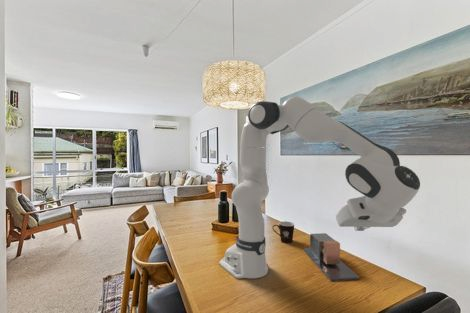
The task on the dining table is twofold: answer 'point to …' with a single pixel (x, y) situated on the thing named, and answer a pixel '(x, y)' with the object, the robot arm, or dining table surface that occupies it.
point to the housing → (330, 270)
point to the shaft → (331, 252)
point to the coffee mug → (285, 231)
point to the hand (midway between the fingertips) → (358, 229)
